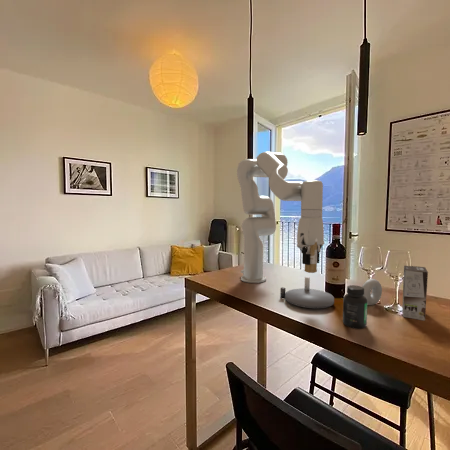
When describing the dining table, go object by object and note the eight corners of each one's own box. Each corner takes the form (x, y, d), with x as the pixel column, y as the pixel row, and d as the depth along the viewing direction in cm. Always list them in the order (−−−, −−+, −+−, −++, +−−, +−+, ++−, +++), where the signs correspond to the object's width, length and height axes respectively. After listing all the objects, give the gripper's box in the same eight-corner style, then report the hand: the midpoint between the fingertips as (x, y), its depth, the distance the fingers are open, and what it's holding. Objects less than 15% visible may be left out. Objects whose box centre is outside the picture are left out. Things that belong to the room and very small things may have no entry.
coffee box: (425, 321, 89) (428, 272, 88) (402, 317, 93) (404, 269, 91) (423, 311, 97) (425, 266, 96) (401, 308, 100) (403, 264, 99)
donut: (366, 308, 100) (367, 281, 99) (358, 305, 103) (358, 279, 102) (383, 304, 105) (384, 278, 104) (375, 301, 108) (376, 276, 107)
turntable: (338, 309, 96) (339, 291, 96) (285, 306, 100) (286, 288, 99) (328, 291, 116) (328, 276, 115) (284, 289, 119) (284, 274, 119)
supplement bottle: (371, 328, 84) (373, 290, 83) (351, 330, 83) (352, 291, 82) (357, 319, 91) (358, 283, 90) (338, 320, 90) (339, 284, 89)
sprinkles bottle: (302, 271, 102) (302, 236, 101) (307, 269, 106) (308, 234, 105) (314, 273, 99) (314, 236, 98) (319, 271, 103) (319, 235, 102)
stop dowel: (279, 297, 112) (279, 288, 112) (282, 296, 114) (282, 287, 113) (282, 299, 111) (283, 289, 110) (286, 298, 112) (286, 288, 112)
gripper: (317, 213, 109) (316, 259, 110) (287, 214, 100) (287, 264, 101) (334, 214, 103) (333, 262, 104) (304, 215, 93) (303, 268, 95)
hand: (310, 262), depth 102 cm, fingers closed on sprinkles bottle, 4 cm apart
